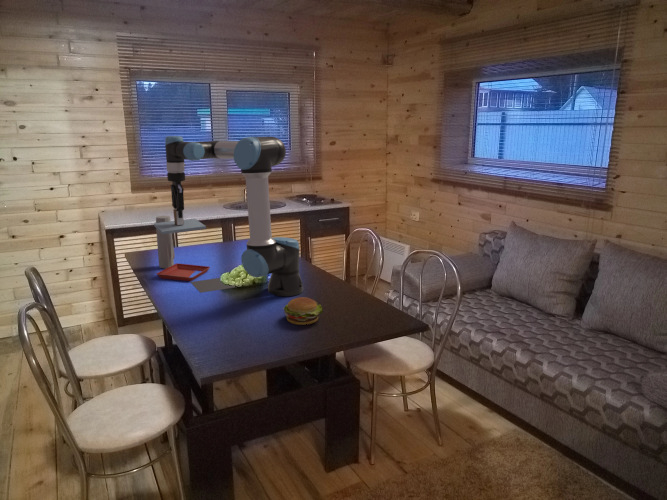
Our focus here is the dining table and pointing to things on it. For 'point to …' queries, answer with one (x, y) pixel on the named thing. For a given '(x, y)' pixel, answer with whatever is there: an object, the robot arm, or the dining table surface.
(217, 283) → the mat
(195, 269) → the plant saucer
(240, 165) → the robot arm
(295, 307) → the food
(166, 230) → the lid
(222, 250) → the dining table surface
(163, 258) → the water bottle
